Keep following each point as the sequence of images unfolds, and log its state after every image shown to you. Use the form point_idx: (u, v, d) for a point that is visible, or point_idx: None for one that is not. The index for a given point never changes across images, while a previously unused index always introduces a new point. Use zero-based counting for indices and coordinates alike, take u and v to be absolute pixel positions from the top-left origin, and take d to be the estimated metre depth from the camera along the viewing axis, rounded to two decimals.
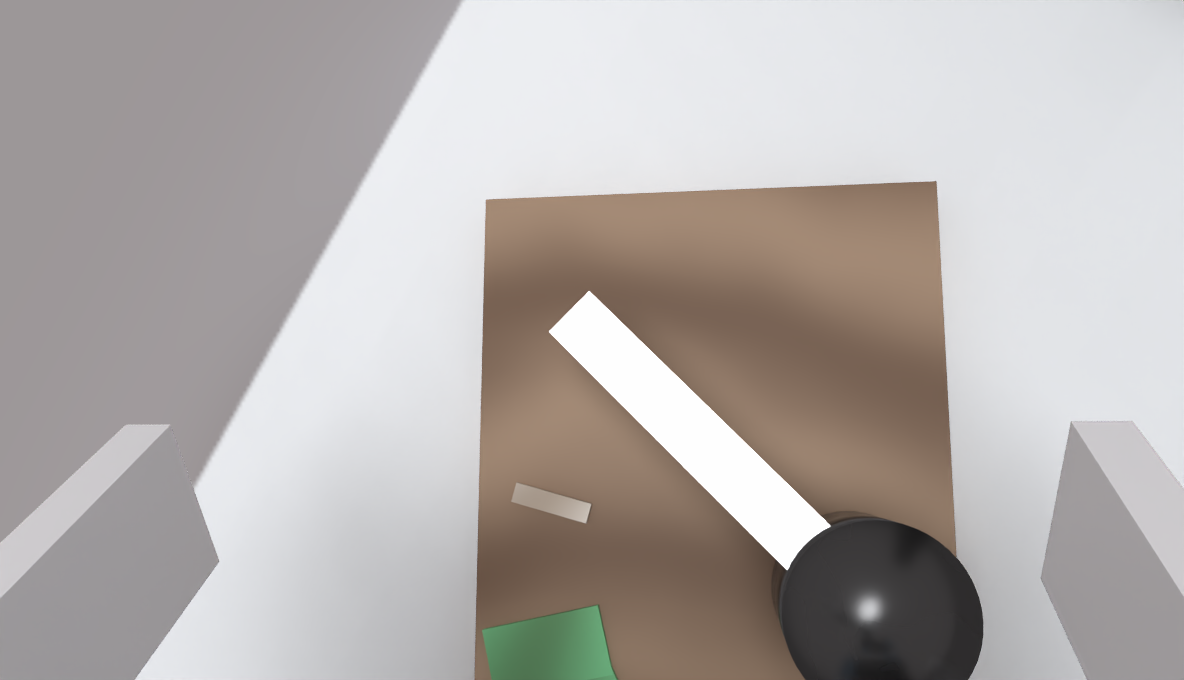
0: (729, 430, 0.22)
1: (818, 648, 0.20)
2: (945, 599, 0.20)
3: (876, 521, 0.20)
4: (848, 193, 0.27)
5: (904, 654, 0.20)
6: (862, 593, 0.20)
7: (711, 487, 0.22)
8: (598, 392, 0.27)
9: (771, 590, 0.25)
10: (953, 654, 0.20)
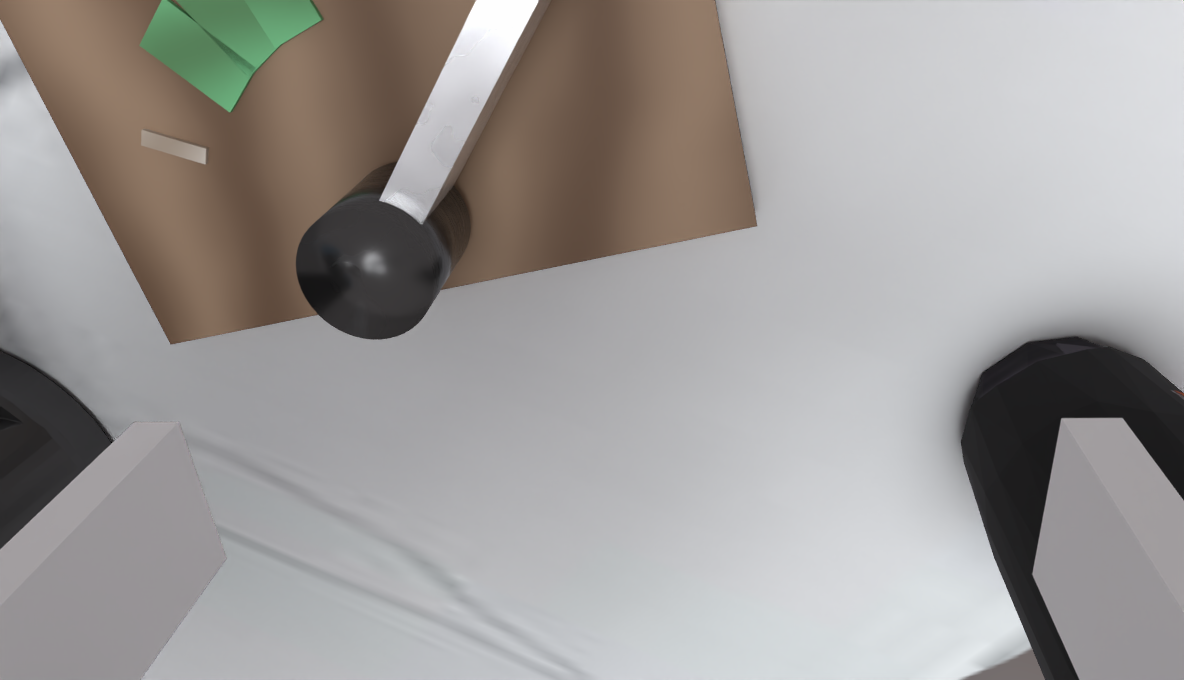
0: (467, 134, 0.26)
1: (327, 240, 0.27)
2: (393, 314, 0.28)
3: (428, 263, 0.27)
4: (735, 157, 0.30)
5: (347, 295, 0.28)
6: (376, 262, 0.28)
7: (418, 130, 0.26)
8: None
9: None
10: (361, 324, 0.29)
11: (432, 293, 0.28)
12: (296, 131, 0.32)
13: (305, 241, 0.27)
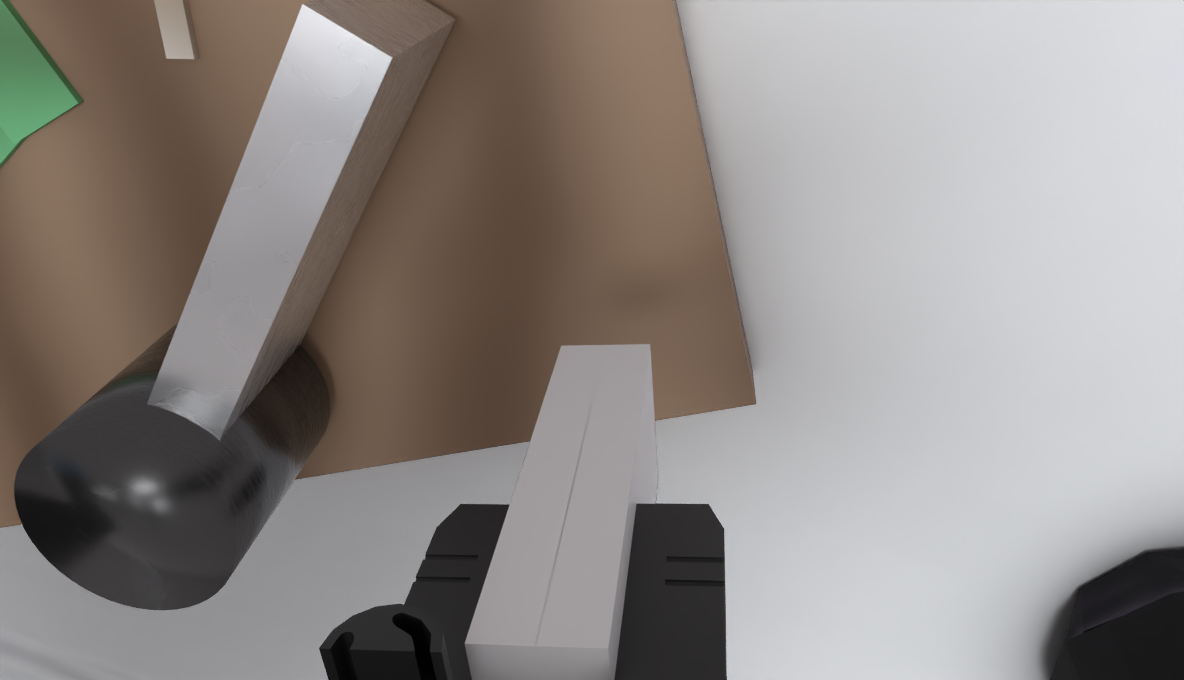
0: (275, 309, 0.16)
1: (59, 472, 0.17)
2: (178, 577, 0.18)
3: (223, 509, 0.17)
4: (723, 309, 0.20)
5: (104, 548, 0.18)
6: (140, 505, 0.17)
7: (194, 302, 0.16)
8: None
9: None
10: (131, 588, 0.18)
11: (236, 550, 0.17)
12: (64, 262, 0.21)
13: (24, 473, 0.17)
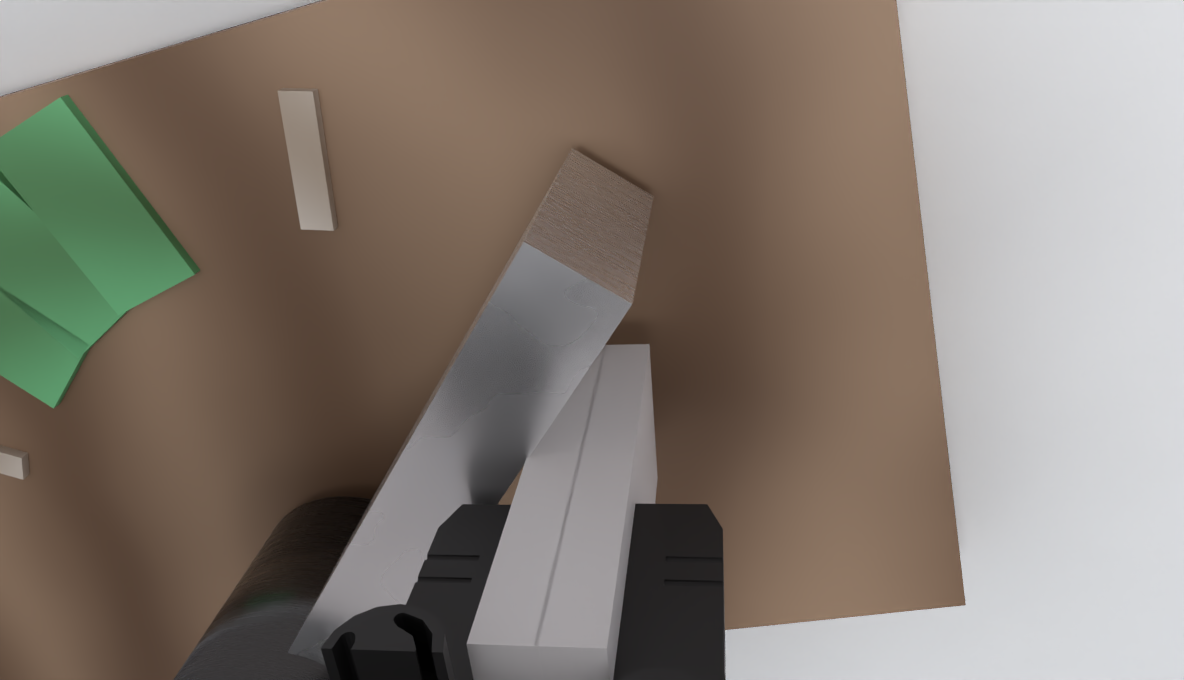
0: None
1: None
2: None
3: None
4: (938, 506, 0.17)
5: None
6: None
7: (354, 553, 0.13)
8: (520, 195, 0.15)
9: None
10: None
11: None
12: (169, 435, 0.18)
13: None
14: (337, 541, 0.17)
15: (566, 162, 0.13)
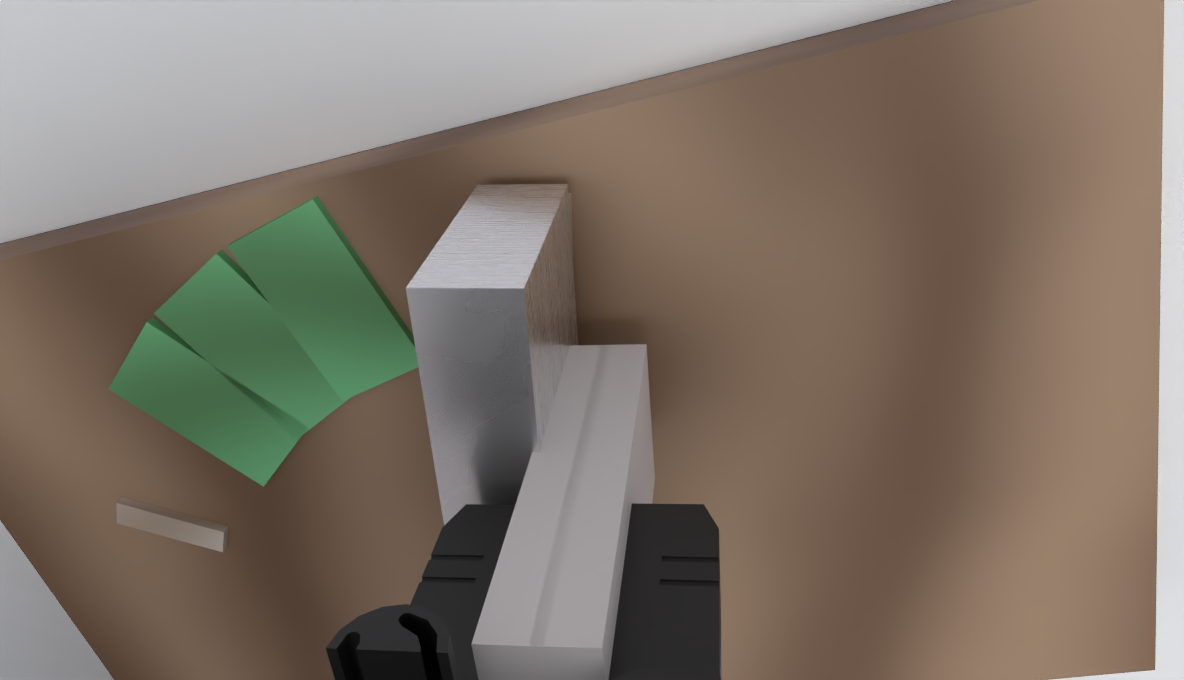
0: None
1: None
2: None
3: None
4: (1141, 579, 0.17)
5: None
6: None
7: None
8: (761, 292, 0.15)
9: None
10: None
11: None
12: (375, 511, 0.19)
13: None
14: None
15: (468, 200, 0.14)
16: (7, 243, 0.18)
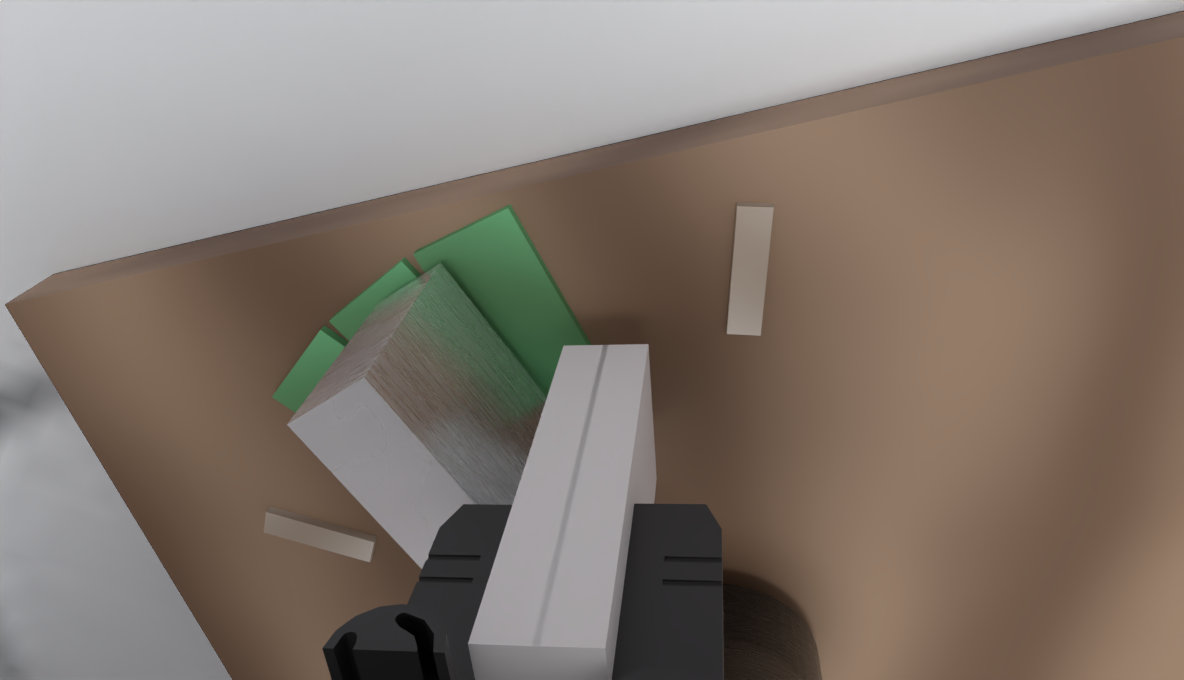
0: None
1: None
2: None
3: None
4: None
5: None
6: None
7: None
8: (957, 304, 0.15)
9: None
10: None
11: None
12: None
13: None
14: None
15: (364, 321, 0.15)
16: (167, 249, 0.18)
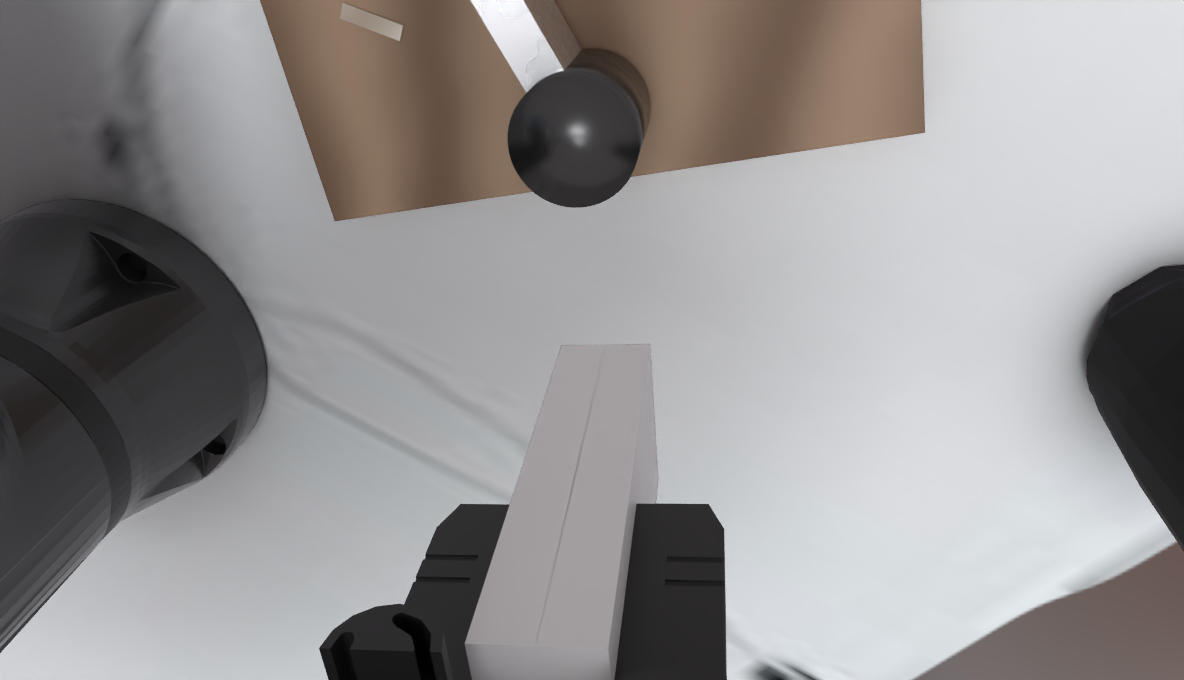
0: None
1: (528, 151, 0.30)
2: (617, 142, 0.29)
3: (588, 79, 0.28)
4: (914, 63, 0.32)
5: (580, 169, 0.30)
6: (565, 124, 0.29)
7: (485, 18, 0.29)
8: None
9: None
10: (611, 176, 0.30)
11: (617, 94, 0.29)
12: None
13: (520, 170, 0.30)
14: None
15: None
16: None
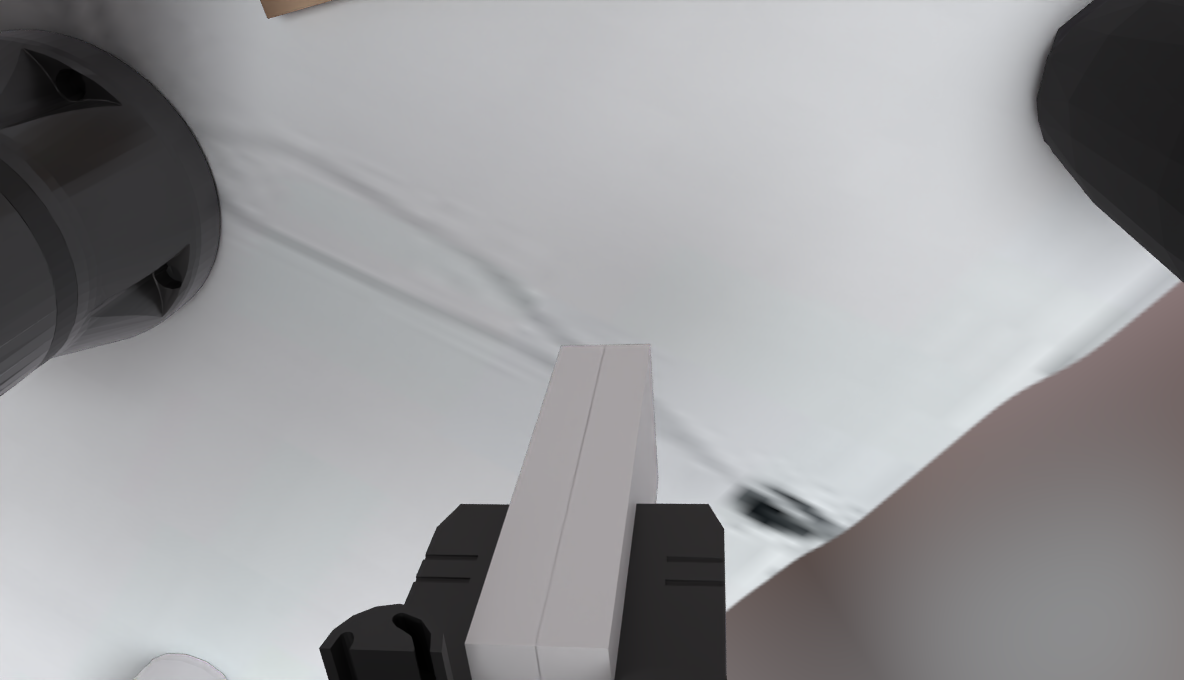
0: None
1: None
2: None
3: None
4: None
5: None
6: None
7: None
8: None
9: None
10: None
11: None
12: None
13: None
14: None
15: None
16: None
